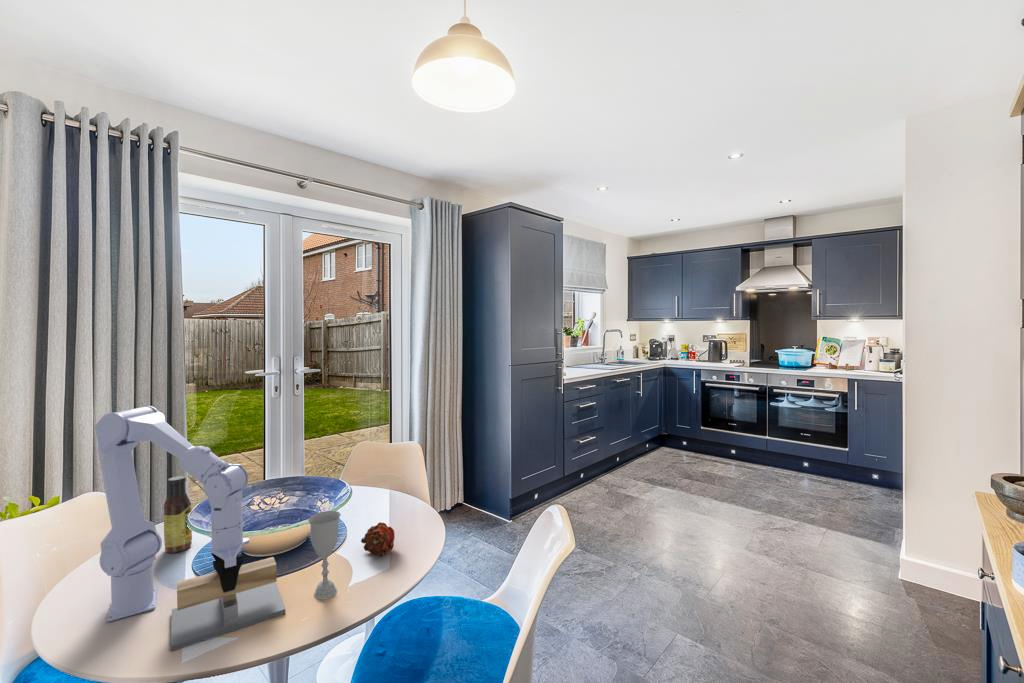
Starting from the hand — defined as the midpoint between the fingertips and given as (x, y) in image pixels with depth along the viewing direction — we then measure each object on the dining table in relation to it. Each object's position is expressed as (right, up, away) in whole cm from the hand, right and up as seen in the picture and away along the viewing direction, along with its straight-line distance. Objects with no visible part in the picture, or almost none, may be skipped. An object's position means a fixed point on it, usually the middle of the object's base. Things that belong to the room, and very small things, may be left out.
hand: (228, 585), depth 99 cm
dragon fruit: (+25, -6, +28) cm, 37 cm away
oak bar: (0, -1, 0) cm, 1 cm away
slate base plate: (0, -6, 0) cm, 6 cm away
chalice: (+18, -6, +8) cm, 20 cm away
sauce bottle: (-32, -5, +29) cm, 43 cm away
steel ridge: (0, -6, 0) cm, 6 cm away
